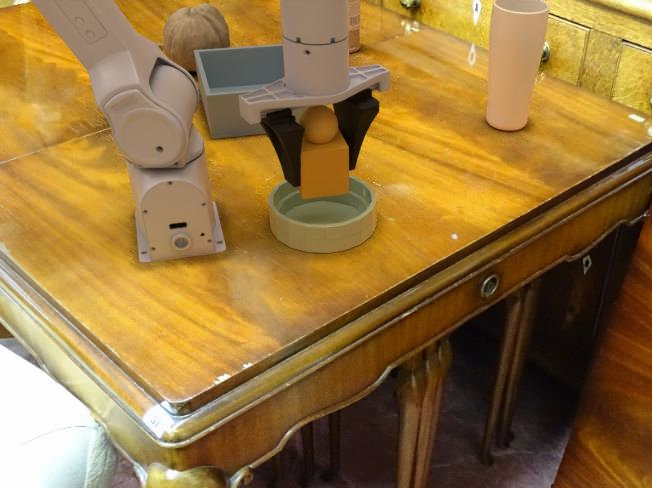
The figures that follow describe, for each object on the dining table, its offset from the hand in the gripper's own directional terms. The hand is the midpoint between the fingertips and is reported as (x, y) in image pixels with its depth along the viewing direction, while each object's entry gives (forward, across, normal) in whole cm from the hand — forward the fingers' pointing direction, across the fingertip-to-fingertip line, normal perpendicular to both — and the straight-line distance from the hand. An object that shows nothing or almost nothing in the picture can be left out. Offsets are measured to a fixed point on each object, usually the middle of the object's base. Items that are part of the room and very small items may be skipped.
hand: (320, 173), depth 75 cm
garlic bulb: (+6, -6, -43) cm, 44 cm away
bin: (+6, -7, -28) cm, 30 cm away
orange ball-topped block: (+1, 0, 0) cm, 1 cm away
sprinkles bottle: (+6, -28, -40) cm, 49 cm away
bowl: (+6, 0, 0) cm, 6 cm away
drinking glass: (+6, -32, -8) cm, 34 cm away
